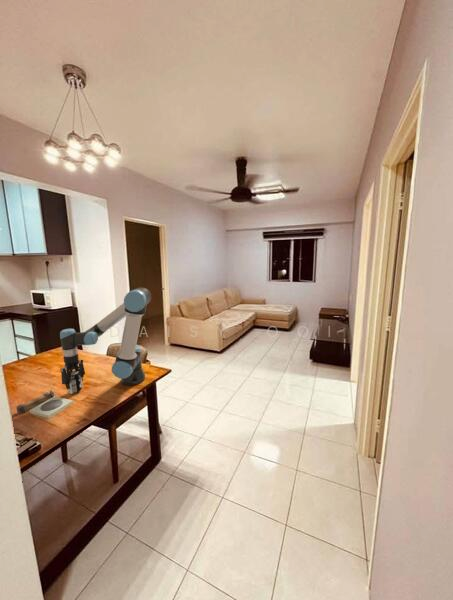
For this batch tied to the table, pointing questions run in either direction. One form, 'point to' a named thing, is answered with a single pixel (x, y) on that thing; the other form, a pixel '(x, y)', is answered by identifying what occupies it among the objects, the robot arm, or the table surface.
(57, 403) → the board
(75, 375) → the beverage can
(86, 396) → the table surface
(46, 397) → the brown grey-ended bar
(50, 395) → the hinge pin
